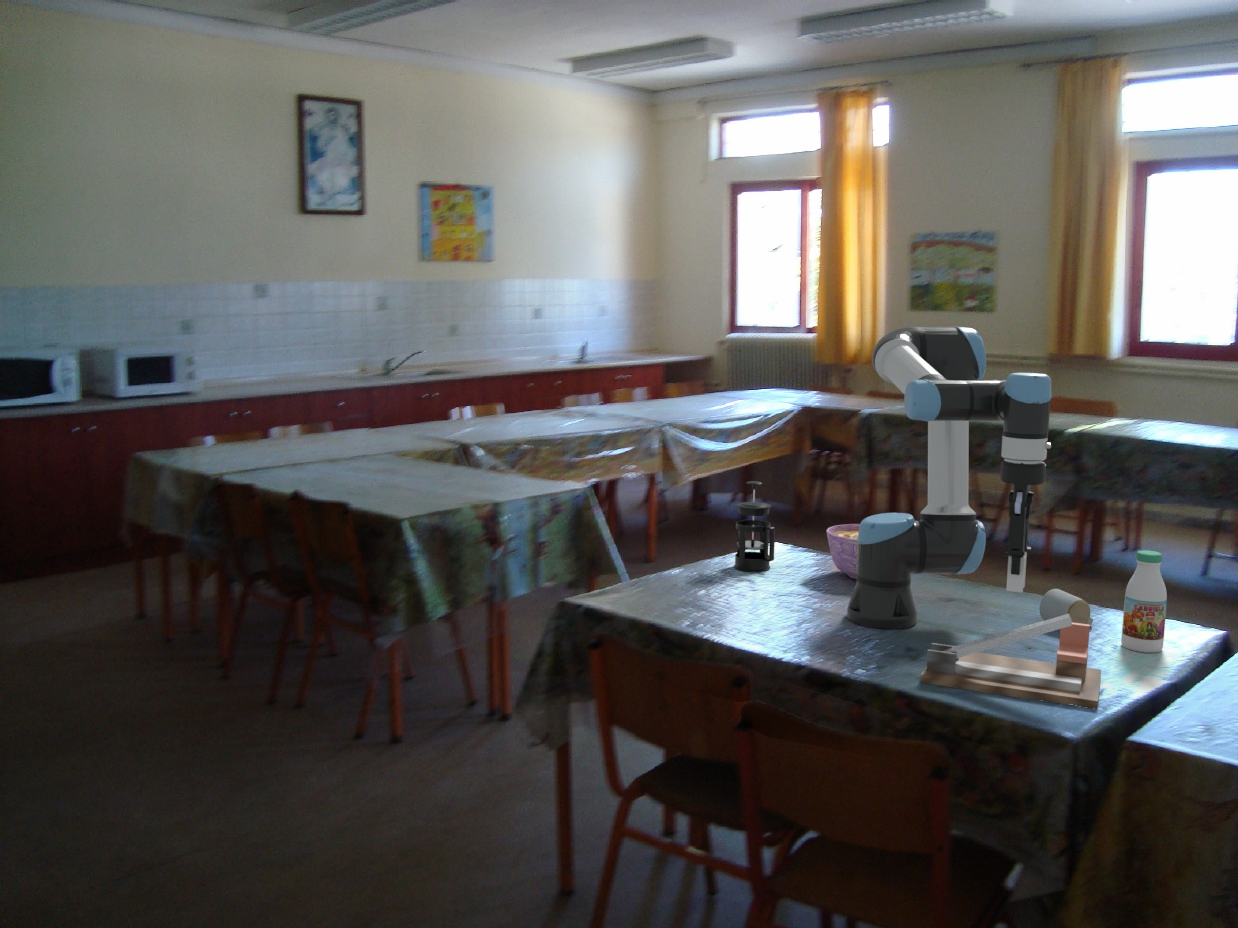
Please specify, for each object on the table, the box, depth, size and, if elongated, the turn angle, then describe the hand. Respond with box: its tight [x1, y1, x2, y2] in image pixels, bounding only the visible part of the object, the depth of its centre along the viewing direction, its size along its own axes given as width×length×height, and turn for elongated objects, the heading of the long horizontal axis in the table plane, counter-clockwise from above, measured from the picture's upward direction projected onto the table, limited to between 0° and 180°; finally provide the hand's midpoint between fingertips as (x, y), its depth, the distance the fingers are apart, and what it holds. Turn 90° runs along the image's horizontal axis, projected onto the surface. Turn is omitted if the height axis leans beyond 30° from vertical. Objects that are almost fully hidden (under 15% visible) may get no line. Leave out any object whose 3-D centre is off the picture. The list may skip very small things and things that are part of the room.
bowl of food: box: [826, 523, 860, 580], centre depth 277 cm, size 20×20×12 cm
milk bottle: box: [1120, 549, 1168, 654], centre depth 220 cm, size 8×8×20 cm
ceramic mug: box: [1039, 588, 1094, 626], centre depth 236 cm, size 11×8×8 cm
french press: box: [733, 480, 776, 573], centre depth 283 cm, size 12×9×23 cm
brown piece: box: [920, 642, 1102, 710], centre depth 202 cm, size 30×18×6 cm, turn 65°
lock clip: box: [1056, 622, 1091, 664], centre depth 201 cm, size 5×8×5 cm, turn 155°
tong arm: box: [941, 614, 1072, 658], centre depth 198 cm, size 24×3×2 cm, turn 64°
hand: (1015, 588), depth 196 cm, fingers open, 3 cm apart
